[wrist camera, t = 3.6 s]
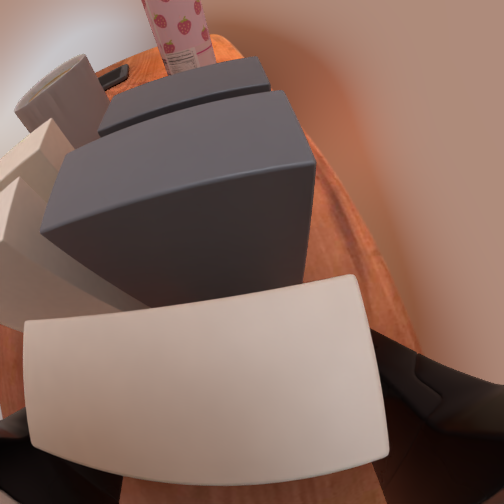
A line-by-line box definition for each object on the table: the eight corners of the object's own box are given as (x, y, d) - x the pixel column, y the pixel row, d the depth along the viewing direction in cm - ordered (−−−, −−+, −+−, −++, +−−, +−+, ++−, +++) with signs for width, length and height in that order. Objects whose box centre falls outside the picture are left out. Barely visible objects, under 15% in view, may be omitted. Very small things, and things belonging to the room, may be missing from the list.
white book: (310, 393, 13) (392, 457, 2) (210, 406, 13) (30, 446, 2) (302, 351, 14) (356, 270, 3) (204, 365, 14) (22, 319, 3)
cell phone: (66, 100, 35) (64, 97, 35) (129, 65, 36) (128, 62, 35) (57, 118, 32) (55, 115, 31) (127, 78, 32) (126, 75, 32)
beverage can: (229, 75, 27) (204, -32, 14) (203, 99, 25) (167, -23, 12) (192, 74, 29) (162, -21, 16) (165, 97, 27) (125, -7, 14)
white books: (173, 334, 15) (2, 239, 4) (103, 355, 15) (-58, 296, 4) (153, 243, 18) (47, 110, 7) (92, 269, 18) (-23, 173, 7)
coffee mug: (121, 137, 25) (80, 65, 16) (52, 182, 24) (3, 125, 15) (116, 94, 31) (90, 43, 22) (61, 129, 30) (31, 83, 21)
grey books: (297, 320, 15) (317, 162, 4) (201, 335, 15) (37, 232, 4) (276, 220, 18) (254, 36, 7) (194, 236, 18) (104, 79, 7)
